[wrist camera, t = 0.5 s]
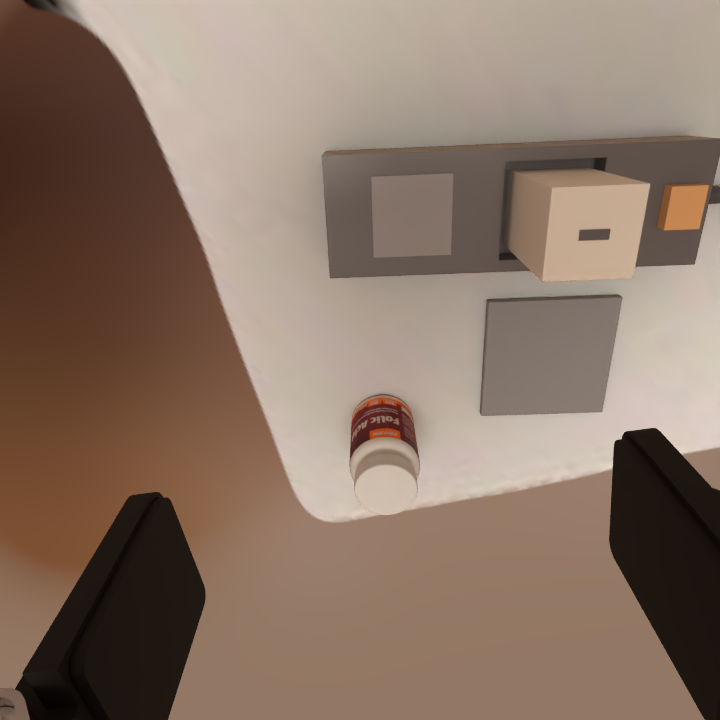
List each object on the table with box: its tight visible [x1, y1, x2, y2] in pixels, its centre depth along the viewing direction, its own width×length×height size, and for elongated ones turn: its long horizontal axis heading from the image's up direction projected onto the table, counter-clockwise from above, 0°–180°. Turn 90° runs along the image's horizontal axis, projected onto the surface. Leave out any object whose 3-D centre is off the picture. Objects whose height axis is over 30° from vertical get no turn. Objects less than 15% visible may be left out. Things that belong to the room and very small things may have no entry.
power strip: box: [322, 136, 720, 278], centre depth 32 cm, size 32×7×4 cm, turn 92°
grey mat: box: [480, 295, 622, 416], centre depth 38 cm, size 9×9×1 cm
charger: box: [503, 166, 650, 282], centre depth 29 cm, size 4×4×8 cm
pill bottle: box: [349, 395, 420, 515], centre depth 37 cm, size 5×5×8 cm
